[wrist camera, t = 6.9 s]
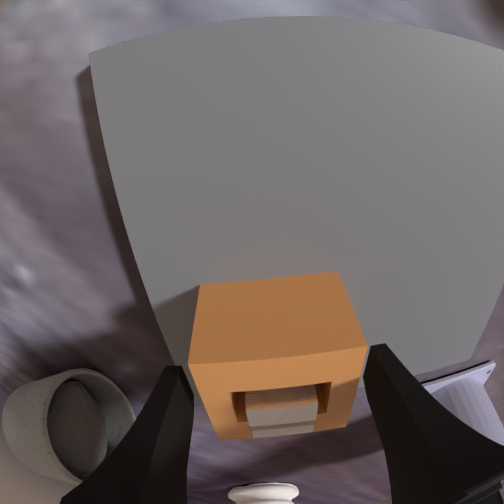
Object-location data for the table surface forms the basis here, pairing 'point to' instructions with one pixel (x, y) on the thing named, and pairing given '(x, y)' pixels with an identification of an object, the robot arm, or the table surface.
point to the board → (313, 171)
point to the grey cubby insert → (281, 405)
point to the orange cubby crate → (276, 349)
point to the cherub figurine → (264, 493)
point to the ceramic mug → (66, 423)
